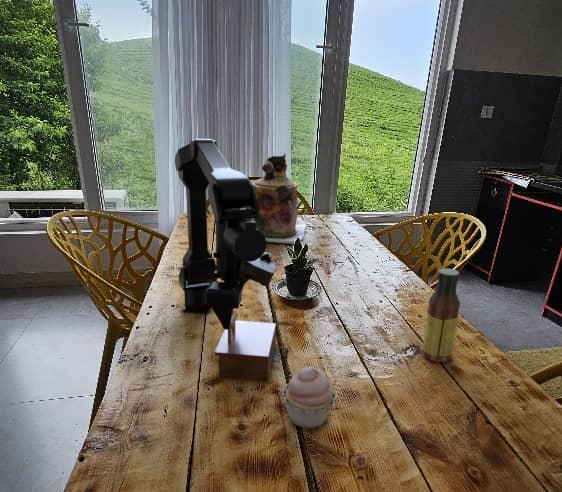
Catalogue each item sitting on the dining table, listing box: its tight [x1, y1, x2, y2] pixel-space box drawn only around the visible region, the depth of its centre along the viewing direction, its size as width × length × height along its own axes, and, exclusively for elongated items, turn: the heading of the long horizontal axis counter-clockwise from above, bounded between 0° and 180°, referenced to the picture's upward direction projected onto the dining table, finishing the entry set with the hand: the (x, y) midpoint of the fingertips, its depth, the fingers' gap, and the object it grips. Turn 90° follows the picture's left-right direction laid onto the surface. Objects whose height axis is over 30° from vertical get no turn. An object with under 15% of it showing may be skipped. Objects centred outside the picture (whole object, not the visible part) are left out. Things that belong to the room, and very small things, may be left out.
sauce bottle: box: [422, 267, 461, 363], centre depth 93 cm, size 6×6×20 cm
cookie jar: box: [252, 152, 307, 245], centre depth 173 cm, size 25×25×32 cm
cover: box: [213, 310, 277, 360], centre depth 90 cm, size 10×14×5 cm
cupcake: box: [281, 366, 338, 429], centre depth 75 cm, size 9×9×10 cm
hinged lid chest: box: [218, 327, 277, 383], centre depth 92 cm, size 10×14×5 cm
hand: (231, 318), depth 89 cm, fingers open, 9 cm apart
